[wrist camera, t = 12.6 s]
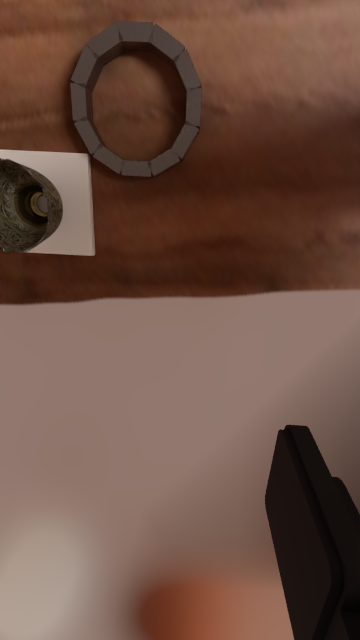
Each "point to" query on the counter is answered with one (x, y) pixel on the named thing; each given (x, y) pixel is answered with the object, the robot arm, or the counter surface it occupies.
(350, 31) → the counter surface
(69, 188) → the stone coaster
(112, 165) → the stone ring
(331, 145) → the counter surface
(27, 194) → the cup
